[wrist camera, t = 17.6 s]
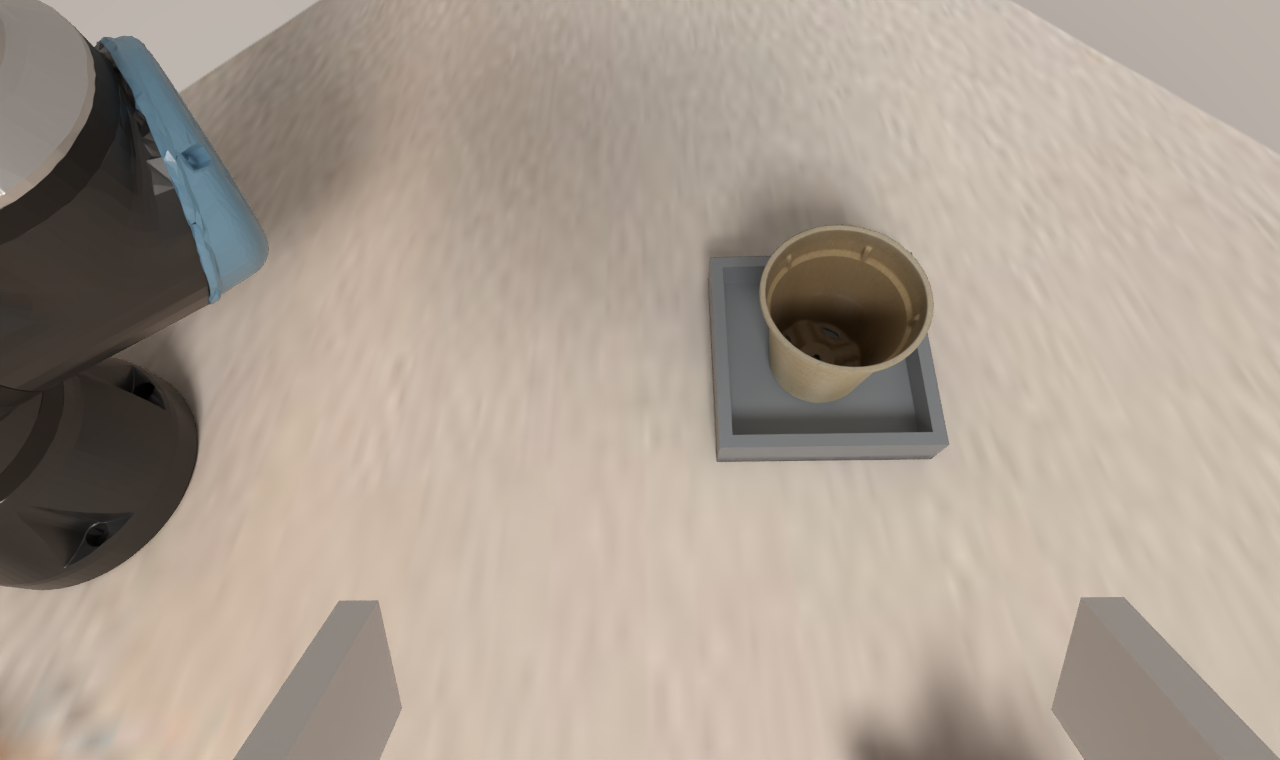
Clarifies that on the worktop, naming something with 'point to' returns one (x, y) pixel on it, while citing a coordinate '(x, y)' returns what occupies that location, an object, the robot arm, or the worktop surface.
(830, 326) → the flower pot
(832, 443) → the tray
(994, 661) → the worktop surface
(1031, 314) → the worktop surface
